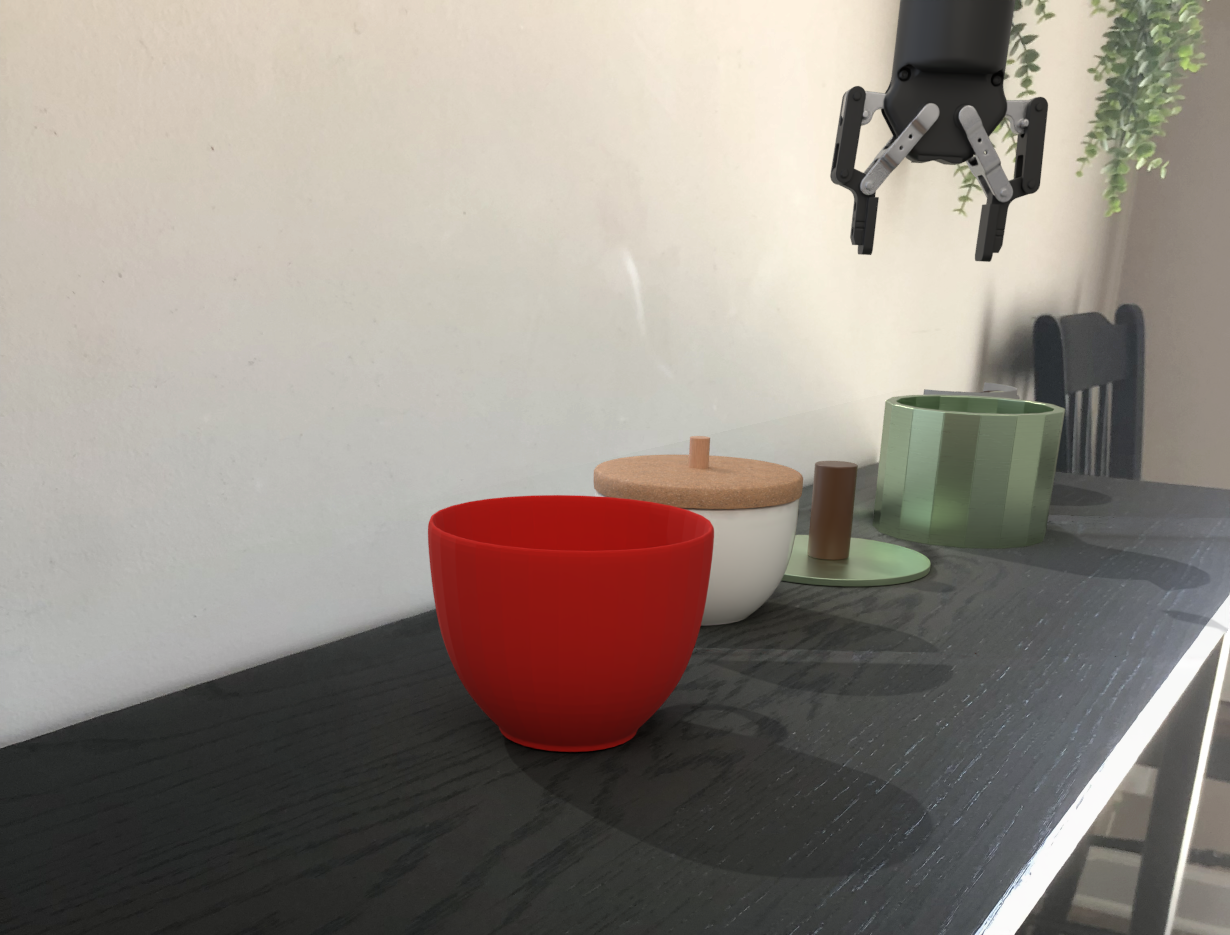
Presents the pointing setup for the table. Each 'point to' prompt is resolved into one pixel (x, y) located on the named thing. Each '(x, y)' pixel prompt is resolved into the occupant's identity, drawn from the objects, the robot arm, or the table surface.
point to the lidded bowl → (721, 516)
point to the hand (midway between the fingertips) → (924, 257)
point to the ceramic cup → (569, 611)
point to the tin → (967, 470)
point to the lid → (846, 540)
